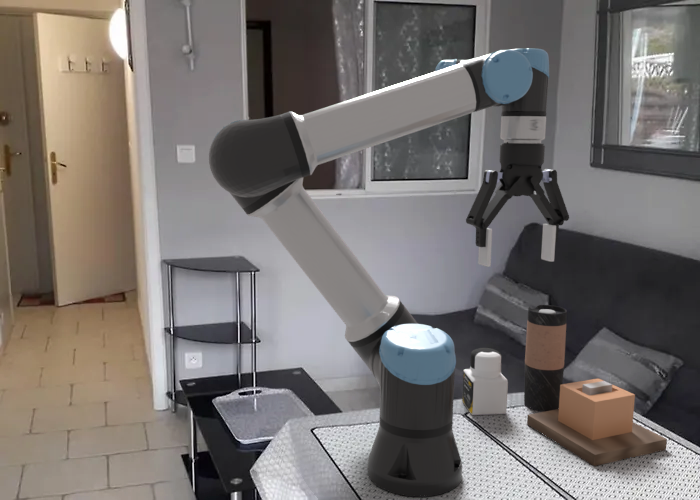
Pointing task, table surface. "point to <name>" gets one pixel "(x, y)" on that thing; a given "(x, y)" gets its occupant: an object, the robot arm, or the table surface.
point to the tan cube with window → (596, 410)
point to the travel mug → (544, 357)
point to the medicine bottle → (485, 383)
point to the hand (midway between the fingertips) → (516, 262)
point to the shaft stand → (598, 449)
